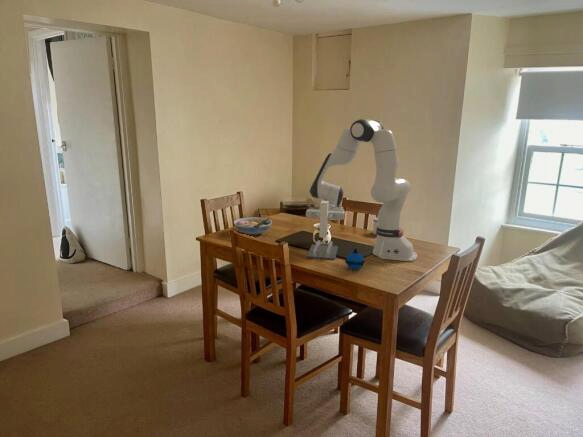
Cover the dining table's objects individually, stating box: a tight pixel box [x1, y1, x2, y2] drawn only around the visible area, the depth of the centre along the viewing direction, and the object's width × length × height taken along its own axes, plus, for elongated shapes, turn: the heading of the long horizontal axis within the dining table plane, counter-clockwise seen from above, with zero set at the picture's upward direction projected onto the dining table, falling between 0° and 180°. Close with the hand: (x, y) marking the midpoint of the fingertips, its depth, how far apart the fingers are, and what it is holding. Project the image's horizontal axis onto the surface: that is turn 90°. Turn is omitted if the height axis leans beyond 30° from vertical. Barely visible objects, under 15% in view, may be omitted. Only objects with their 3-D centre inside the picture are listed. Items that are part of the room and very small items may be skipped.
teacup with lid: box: [372, 216, 378, 236], centre depth 263 cm, size 12×9×12 cm
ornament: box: [345, 248, 365, 271], centre depth 202 cm, size 9×9×10 cm
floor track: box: [306, 239, 339, 261], centre depth 226 cm, size 20×14×4 cm
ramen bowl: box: [233, 216, 273, 236], centre depth 258 cm, size 25×23×8 cm
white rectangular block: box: [318, 200, 329, 239], centre depth 222 cm, size 5×4×18 cm
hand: (323, 217), depth 222 cm, fingers closed on white rectangular block, 3 cm apart
